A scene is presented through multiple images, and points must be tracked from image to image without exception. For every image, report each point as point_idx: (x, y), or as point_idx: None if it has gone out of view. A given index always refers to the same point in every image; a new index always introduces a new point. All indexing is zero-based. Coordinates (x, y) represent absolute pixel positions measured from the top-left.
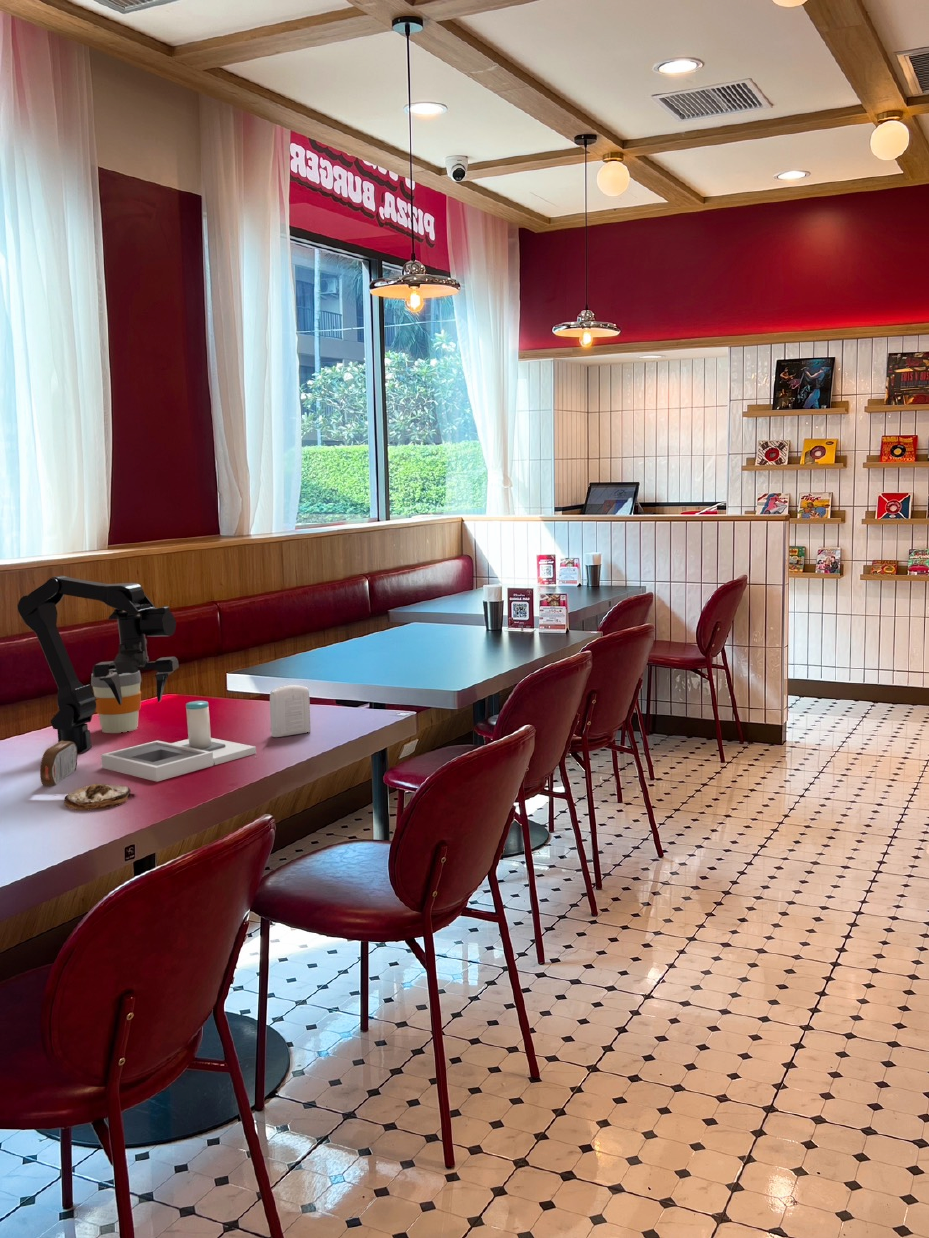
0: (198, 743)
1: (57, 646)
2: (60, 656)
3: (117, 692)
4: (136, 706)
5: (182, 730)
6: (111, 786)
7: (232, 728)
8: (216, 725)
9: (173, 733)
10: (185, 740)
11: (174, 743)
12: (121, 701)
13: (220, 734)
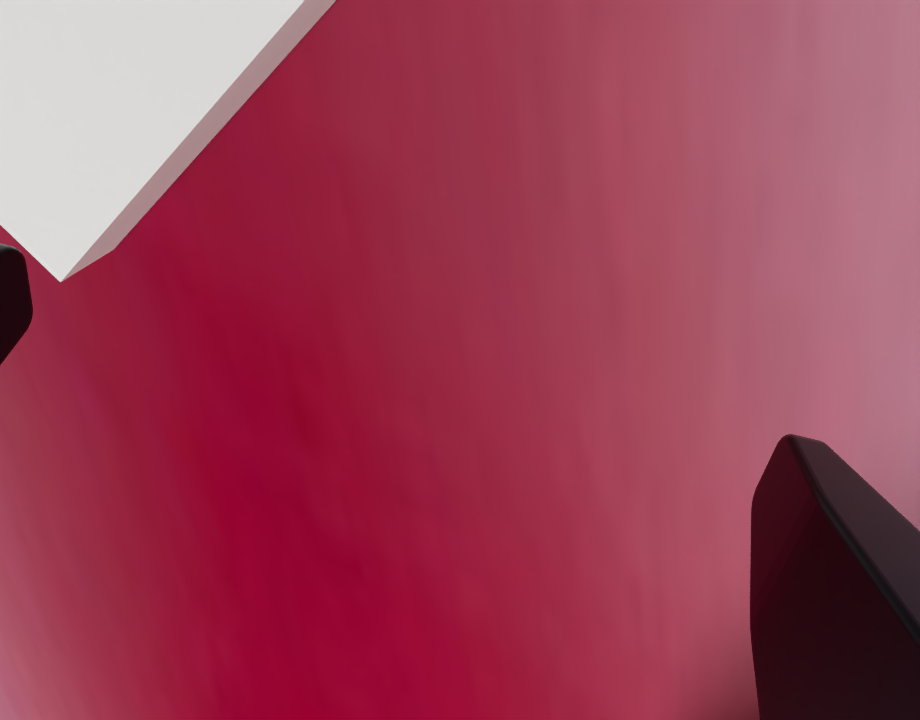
0: None
1: None
2: None
3: (904, 628)
4: None
5: (343, 677)
6: None
7: (63, 597)
8: (172, 689)
9: (386, 639)
10: (135, 147)
11: (206, 53)
12: (761, 527)
13: (86, 501)
